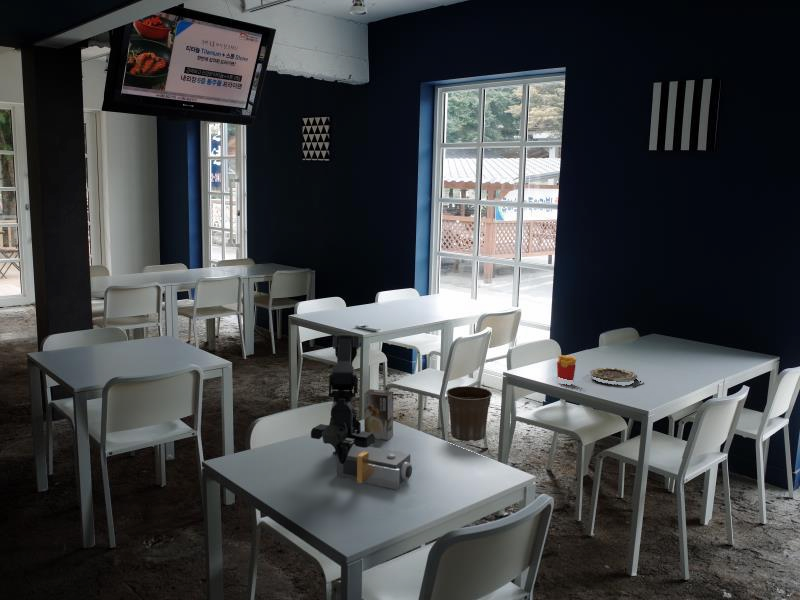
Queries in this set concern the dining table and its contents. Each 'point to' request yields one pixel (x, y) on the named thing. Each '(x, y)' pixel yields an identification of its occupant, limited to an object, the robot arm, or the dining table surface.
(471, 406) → the plant pot
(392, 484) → the orange and silver box
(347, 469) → the camera housing
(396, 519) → the dining table surface
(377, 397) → the coffee box
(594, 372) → the pie
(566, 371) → the french fries
